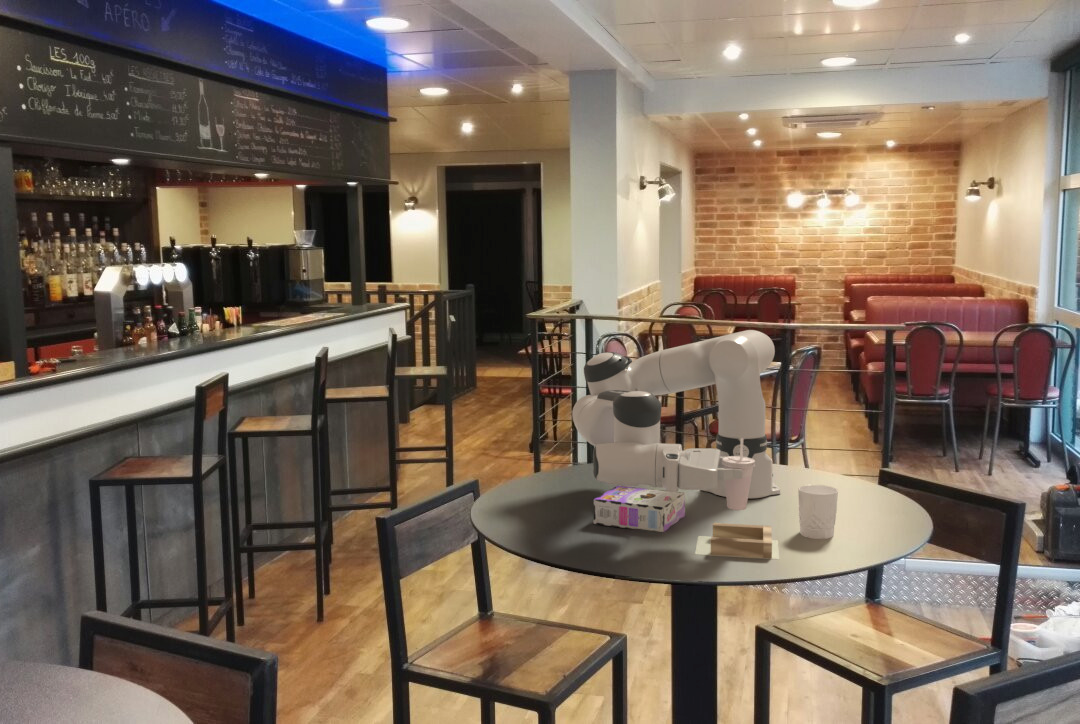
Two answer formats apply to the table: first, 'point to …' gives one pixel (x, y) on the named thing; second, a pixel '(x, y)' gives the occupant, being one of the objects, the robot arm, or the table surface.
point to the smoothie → (738, 480)
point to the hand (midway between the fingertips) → (742, 468)
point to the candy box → (639, 508)
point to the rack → (741, 540)
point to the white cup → (817, 511)
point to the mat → (705, 549)
